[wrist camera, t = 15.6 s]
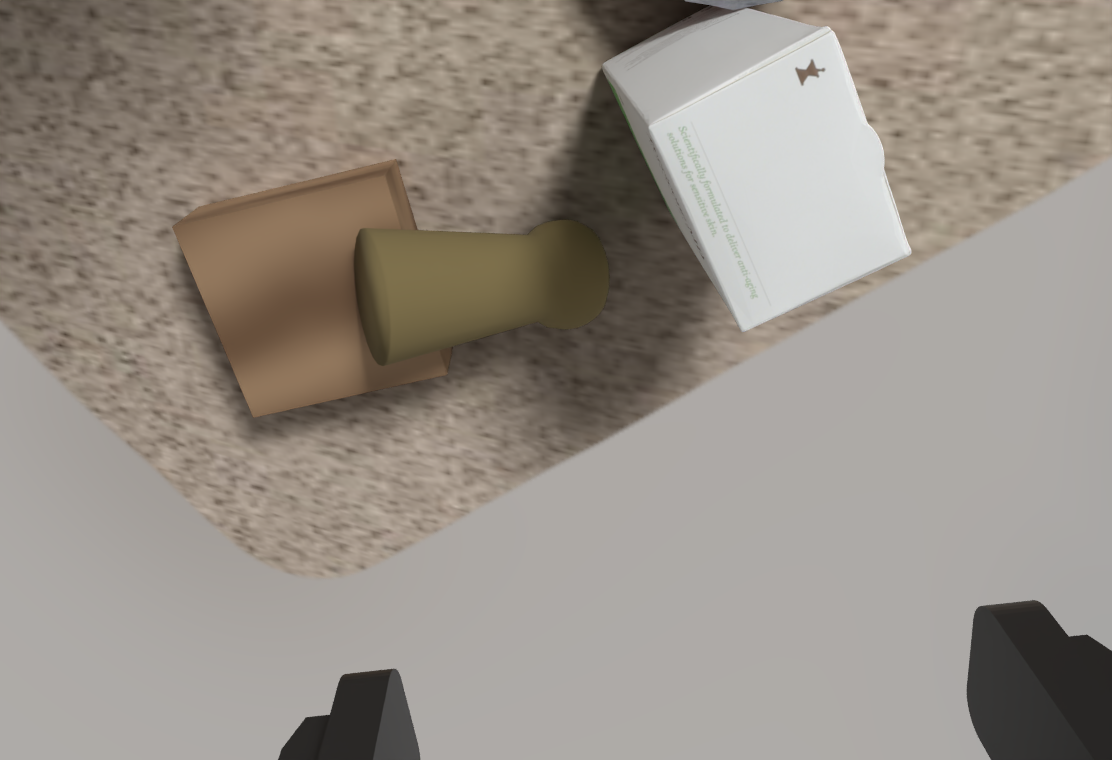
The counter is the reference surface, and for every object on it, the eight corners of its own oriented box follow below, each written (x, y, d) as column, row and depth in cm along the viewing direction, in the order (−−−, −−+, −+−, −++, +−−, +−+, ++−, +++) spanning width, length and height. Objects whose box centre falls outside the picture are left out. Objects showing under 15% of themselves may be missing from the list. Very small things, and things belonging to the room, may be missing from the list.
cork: (399, 360, 36) (635, 325, 41) (374, 213, 36) (613, 193, 41) (369, 370, 42) (580, 338, 46) (347, 242, 42) (560, 222, 46)
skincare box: (598, 61, 41) (631, 116, 27) (731, -9, 40) (837, 10, 26) (671, 220, 45) (735, 342, 31) (796, 159, 44) (922, 257, 29)
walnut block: (201, 204, 44) (172, 226, 41) (396, 157, 44) (384, 175, 40) (274, 383, 48) (253, 417, 45) (453, 342, 48) (447, 374, 44)
